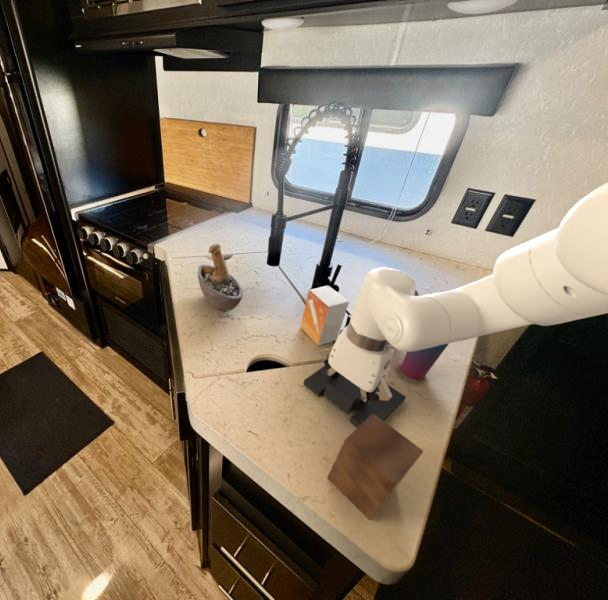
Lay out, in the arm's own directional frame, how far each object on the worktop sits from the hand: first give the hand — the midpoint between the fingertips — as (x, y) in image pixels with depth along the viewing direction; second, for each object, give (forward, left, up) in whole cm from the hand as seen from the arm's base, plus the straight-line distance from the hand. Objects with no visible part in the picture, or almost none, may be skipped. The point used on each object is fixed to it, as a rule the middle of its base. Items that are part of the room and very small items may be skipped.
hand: (343, 395), depth 67 cm
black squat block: (0, 0, -1) cm, 1 cm away
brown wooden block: (-12, +12, -2) cm, 17 cm away
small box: (+17, -14, -2) cm, 22 cm away
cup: (-5, -21, -2) cm, 21 cm away
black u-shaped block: (0, -4, -2) cm, 4 cm away
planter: (+45, 0, -2) cm, 45 cm away
